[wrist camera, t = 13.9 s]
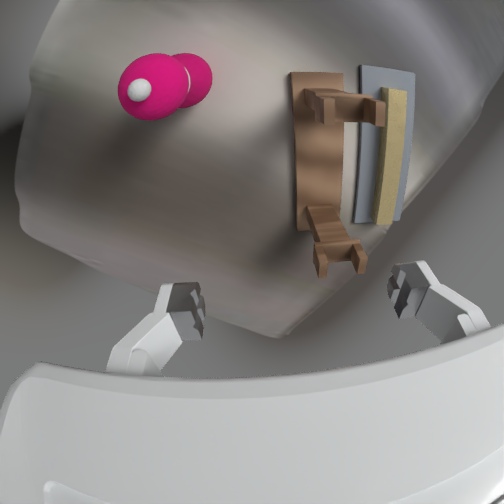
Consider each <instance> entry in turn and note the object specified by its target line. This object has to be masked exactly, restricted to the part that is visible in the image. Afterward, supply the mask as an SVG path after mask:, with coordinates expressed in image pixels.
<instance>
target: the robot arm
mask: <svg viewBox="0 0 504 504" xmlns="http://www.w3.org/2000/svg"><path fill="white" fill-rule="evenodd" d="M391 272H392V274H393V275H392V277H391V278H390V279H389V280H388V284H387V291H388V295H389V298H390V300H391V301H392V302H394V303H395V306H394V309H395V311H396V313H397V315H398V318H399V319H403V318H409V317H415V318H416V319H417V320H419V321H420V322H421V323H422V324H423V325H424V326H426V328H427V329H429V330H430V331H431V332H432V333H433V334H434V335H435V336H436V337H437V338H438V339H440V340H441V341H442V342H441V343H440V345H438V346H435V347H431V348H428V349H424V350H420V351H416V352H413V353H409V354H404V355H400V356H397V357H392V358H388V359H383V360H378V361H373V362H368V363H363V364H358V365H352V366H346V367H340V368H333V369H326V370H319V371H311V372H303V373H293V374H283V375H271V376H256V377H235V378H172V377H164V376H163V374H162V373H161V372H160V371H161V370H162V368H163V367H164V366H165V364H166V363H167V362H168V360H169V359H170V358H171V357H172V355H173V354H174V353H175V351H176V350H177V349H178V347H179V346H180V345H181V344H182V341H194V340H202V336H203V329H204V327H203V324H202V321H203V320H204V319H205V302H204V298H203V296H201V295H200V290H201V288H200V285H199V283H198V282H188V283H168V284H162V285H161V287H160V291H159V294H158V297H157V301H156V304H155V308H154V311H153V313H150V314H148V315H147V316H146V317H145V318H144V319H143V320H142V321H141V322H140V323H139V324H138V325H137V326H135V327H134V328H133V329H132V330H131V331H130V332H129V333H128V334H127V335H126V336H125V337H123V339H121V340H120V341H119V342H118V343H117V344H116V345H115V346H114V347H113V349H112V352H111V355H110V358H109V361H108V364H107V367H106V371H105V372H100V371H93V370H86V369H80V368H74V367H68V366H62V365H57V364H52V363H48V362H42V361H41V362H37V363H35V364H33V365H32V366H31V367H29V368H28V369H27V370H26V371H25V372H23V373H22V374H21V375H20V376H19V377H18V378H17V379H16V380H15V381H14V382H13V383H12V385H11V387H10V389H9V391H8V393H7V395H6V397H5V400H4V402H3V405H2V408H1V411H0V504H504V323H502V324H499V325H496V326H494V327H491V326H490V324H489V323H488V321H487V319H486V317H485V316H484V314H483V312H482V311H481V309H480V308H479V307H477V306H476V305H474V304H473V303H471V302H470V301H468V300H467V299H465V298H464V297H462V296H461V295H459V294H458V293H456V292H455V291H453V290H451V289H450V288H448V287H446V286H445V285H443V284H441V285H440V283H439V282H438V280H437V278H436V277H435V275H434V274H433V272H432V271H431V269H430V268H429V266H428V265H427V263H426V262H425V261H423V260H422V261H415V262H408V263H400V264H394V265H393V267H392V270H391Z"/></svg>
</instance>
